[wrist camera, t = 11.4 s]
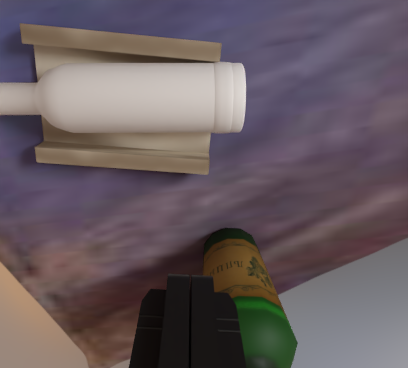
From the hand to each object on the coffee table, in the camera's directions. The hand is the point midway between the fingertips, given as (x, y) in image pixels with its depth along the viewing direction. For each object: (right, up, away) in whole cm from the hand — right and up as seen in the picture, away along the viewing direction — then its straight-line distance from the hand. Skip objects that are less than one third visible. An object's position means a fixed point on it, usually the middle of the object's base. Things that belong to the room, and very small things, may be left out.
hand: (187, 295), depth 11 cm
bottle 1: (+5, +14, +27) cm, 31 cm away
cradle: (-9, +14, +31) cm, 36 cm away
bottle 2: (+5, -7, +41) cm, 42 cm away
